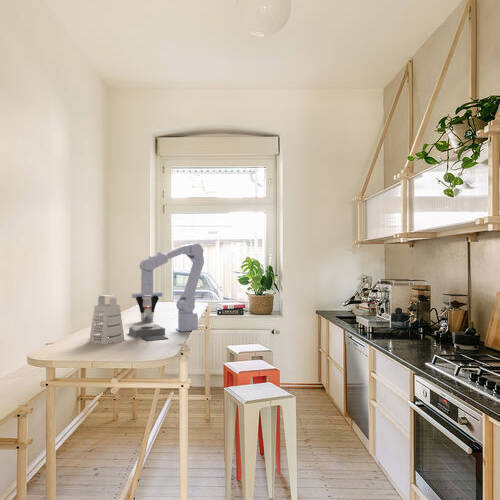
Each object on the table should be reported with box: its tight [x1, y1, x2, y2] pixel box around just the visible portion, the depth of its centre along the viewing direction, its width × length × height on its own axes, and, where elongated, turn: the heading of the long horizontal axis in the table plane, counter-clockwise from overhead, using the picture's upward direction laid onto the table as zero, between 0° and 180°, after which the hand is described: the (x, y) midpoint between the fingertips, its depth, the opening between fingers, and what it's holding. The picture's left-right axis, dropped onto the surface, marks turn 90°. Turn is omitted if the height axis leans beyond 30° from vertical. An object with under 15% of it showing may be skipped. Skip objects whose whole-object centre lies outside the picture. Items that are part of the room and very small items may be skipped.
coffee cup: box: [140, 295, 155, 323], centre depth 240 cm, size 10×10×15 cm
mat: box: [140, 335, 169, 342], centre depth 191 cm, size 10×10×1 cm
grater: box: [88, 294, 125, 345], centre depth 185 cm, size 10×10×20 cm
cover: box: [141, 306, 152, 323], centre depth 201 cm, size 5×5×7 cm
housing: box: [128, 323, 166, 338], centre depth 202 cm, size 14×12×3 cm
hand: (147, 312), depth 201 cm, fingers closed on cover, 5 cm apart
